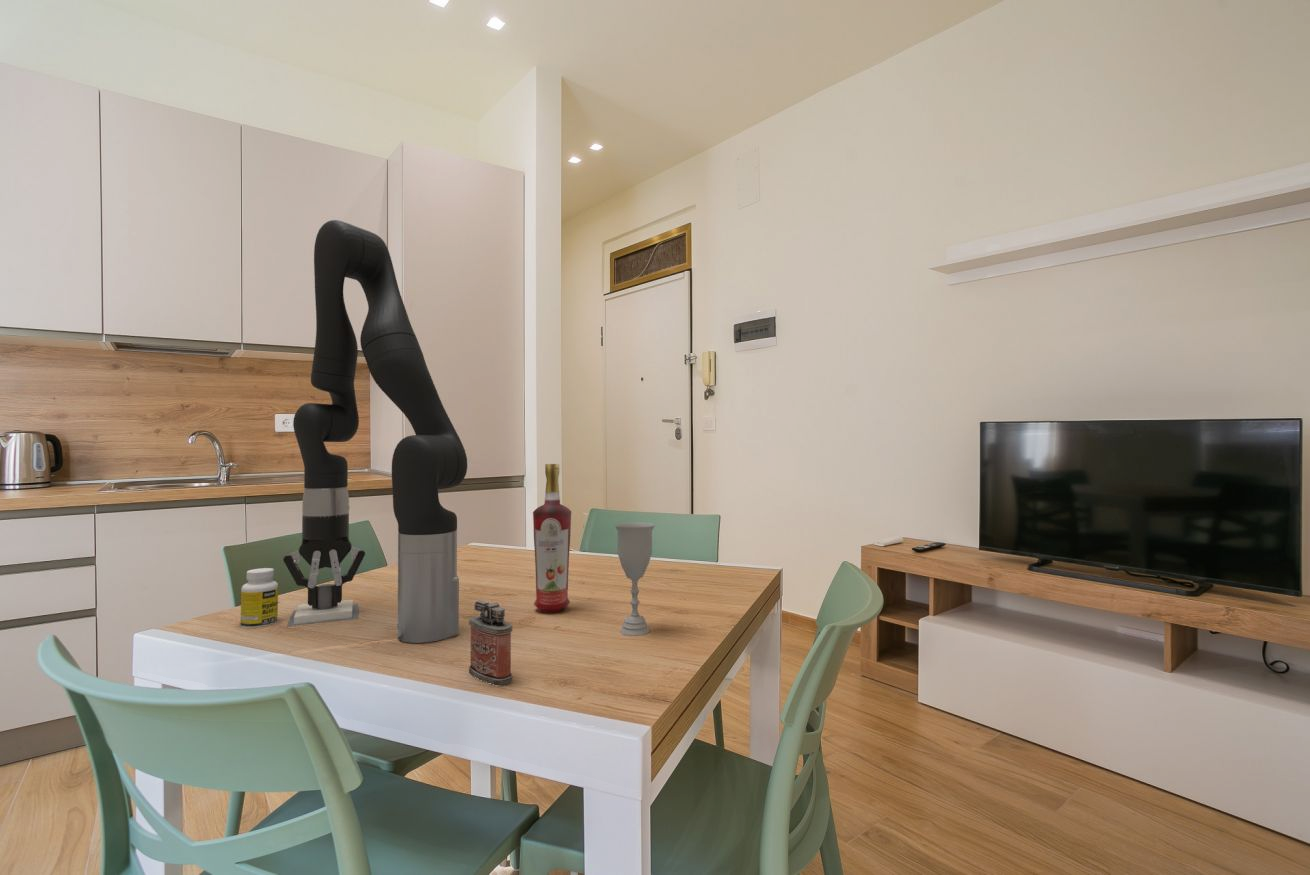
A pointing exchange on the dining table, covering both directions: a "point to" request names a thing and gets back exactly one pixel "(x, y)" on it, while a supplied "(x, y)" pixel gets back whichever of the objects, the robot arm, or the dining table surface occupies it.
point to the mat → (354, 616)
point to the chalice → (634, 567)
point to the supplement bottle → (259, 599)
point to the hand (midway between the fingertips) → (325, 606)
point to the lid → (324, 607)
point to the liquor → (552, 547)
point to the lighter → (490, 644)
